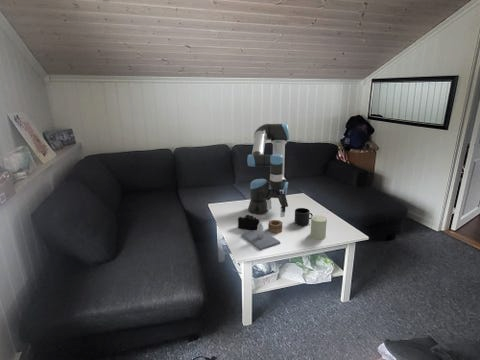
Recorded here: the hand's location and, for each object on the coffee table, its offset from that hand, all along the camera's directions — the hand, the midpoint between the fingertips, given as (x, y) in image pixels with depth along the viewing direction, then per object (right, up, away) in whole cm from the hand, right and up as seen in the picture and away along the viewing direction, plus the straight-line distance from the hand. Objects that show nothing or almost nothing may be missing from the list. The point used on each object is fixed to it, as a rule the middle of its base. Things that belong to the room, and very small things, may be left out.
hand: (275, 213), depth 183 cm
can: (+25, -14, -4) cm, 29 cm away
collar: (0, -11, +4) cm, 12 cm away
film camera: (-16, -10, +9) cm, 21 cm away
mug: (+20, -8, +13) cm, 25 cm away
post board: (-10, -15, -8) cm, 20 cm away
